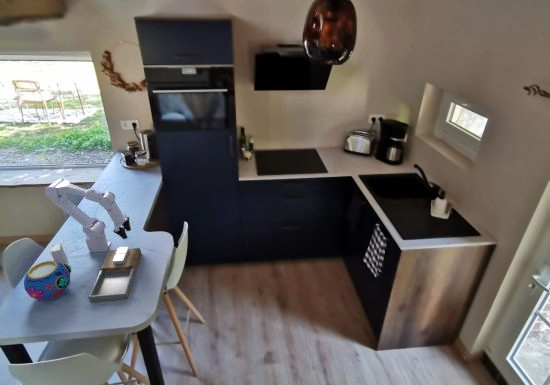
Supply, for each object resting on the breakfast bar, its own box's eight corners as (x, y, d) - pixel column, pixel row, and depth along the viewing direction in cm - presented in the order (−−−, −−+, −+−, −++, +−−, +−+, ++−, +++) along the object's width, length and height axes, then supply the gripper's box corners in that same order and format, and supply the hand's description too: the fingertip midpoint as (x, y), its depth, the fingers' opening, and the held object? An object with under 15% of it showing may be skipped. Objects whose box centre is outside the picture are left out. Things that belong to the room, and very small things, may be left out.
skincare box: (67, 268, 171) (60, 250, 165) (57, 270, 169) (50, 252, 163) (68, 261, 175) (61, 242, 169) (58, 263, 174) (51, 245, 168)
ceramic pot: (70, 303, 151) (60, 278, 144) (25, 311, 147) (12, 287, 139) (78, 276, 166) (69, 253, 158) (37, 283, 161) (26, 260, 154)
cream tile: (116, 256, 173) (115, 253, 172) (119, 250, 177) (118, 247, 176) (126, 255, 174) (125, 252, 173) (129, 249, 178) (128, 246, 177)
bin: (90, 302, 152) (88, 296, 150) (102, 274, 167) (100, 269, 165) (127, 299, 154) (125, 293, 152) (135, 271, 169) (134, 266, 167)
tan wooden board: (102, 274, 167) (100, 268, 165) (110, 256, 179) (108, 250, 177) (135, 271, 169) (134, 265, 167) (141, 253, 181) (140, 248, 179)
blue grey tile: (113, 264, 168) (112, 261, 167) (116, 257, 172) (115, 254, 171) (124, 263, 169) (123, 260, 168) (126, 256, 173) (125, 253, 172)
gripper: (119, 219, 167) (131, 240, 173) (126, 205, 179) (137, 225, 186) (105, 223, 167) (118, 243, 173) (114, 208, 179) (125, 228, 186)
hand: (127, 234), depth 180 cm, fingers open, 7 cm apart
